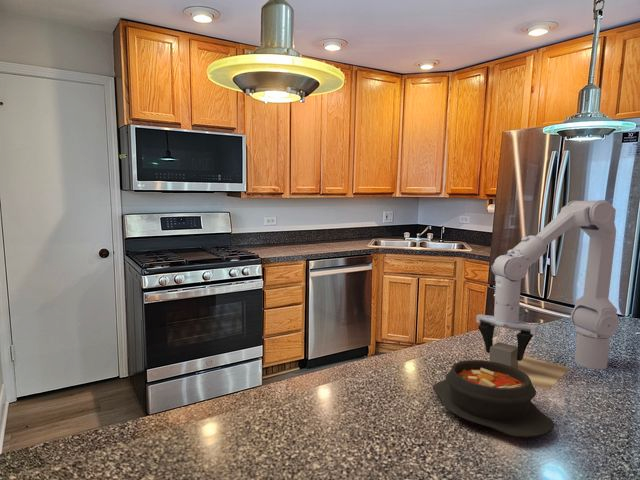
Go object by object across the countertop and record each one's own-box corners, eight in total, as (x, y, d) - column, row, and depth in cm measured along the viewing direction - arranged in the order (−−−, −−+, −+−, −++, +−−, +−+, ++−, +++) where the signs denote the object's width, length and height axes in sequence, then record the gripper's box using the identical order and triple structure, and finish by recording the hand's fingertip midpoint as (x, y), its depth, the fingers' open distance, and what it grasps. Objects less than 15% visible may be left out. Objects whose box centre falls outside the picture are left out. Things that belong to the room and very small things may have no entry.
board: (503, 353, 119) (503, 350, 119) (570, 370, 107) (570, 367, 107) (475, 371, 106) (475, 368, 106) (548, 392, 95) (548, 389, 94)
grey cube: (497, 362, 110) (498, 342, 110) (517, 368, 106) (518, 347, 106) (488, 368, 106) (490, 346, 106) (509, 374, 103) (511, 352, 102)
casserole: (576, 432, 78) (579, 389, 77) (507, 458, 70) (509, 410, 69) (474, 381, 100) (475, 347, 100) (412, 395, 92) (413, 359, 92)
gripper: (472, 300, 107) (469, 352, 108) (532, 311, 97) (529, 368, 98) (483, 296, 112) (481, 345, 113) (542, 306, 102) (538, 360, 103)
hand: (504, 355), depth 106 cm, fingers open, 7 cm apart
